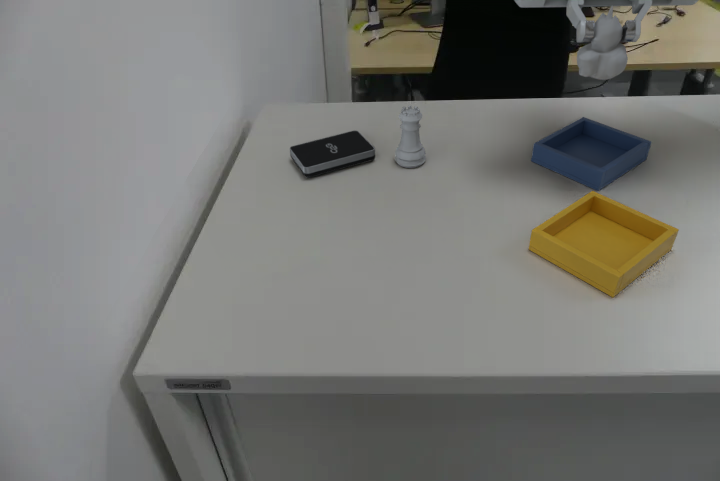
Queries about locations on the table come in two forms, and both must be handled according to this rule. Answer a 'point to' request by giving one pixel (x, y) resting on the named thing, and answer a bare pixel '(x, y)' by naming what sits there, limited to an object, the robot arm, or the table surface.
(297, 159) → the external hard drive
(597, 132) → the blue tray
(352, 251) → the table surface
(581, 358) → the table surface
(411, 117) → the rook chess piece
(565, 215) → the yellow tray
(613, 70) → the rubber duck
